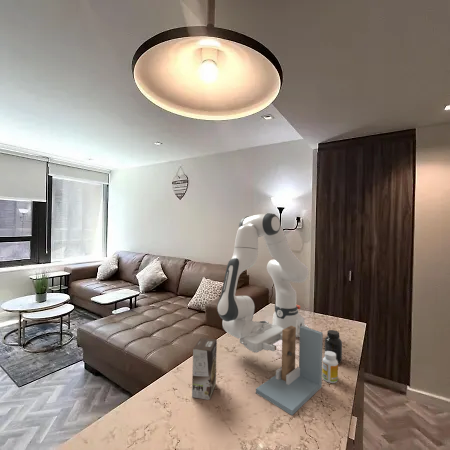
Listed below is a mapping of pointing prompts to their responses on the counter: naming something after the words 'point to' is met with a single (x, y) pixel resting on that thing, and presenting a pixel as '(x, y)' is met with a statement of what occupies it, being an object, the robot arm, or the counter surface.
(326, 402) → the counter surface
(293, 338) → the door panel
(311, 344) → the blue-grey l-shaped stand
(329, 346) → the supplement bottle
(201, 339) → the coffee box
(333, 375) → the supplement bottle
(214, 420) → the counter surface
